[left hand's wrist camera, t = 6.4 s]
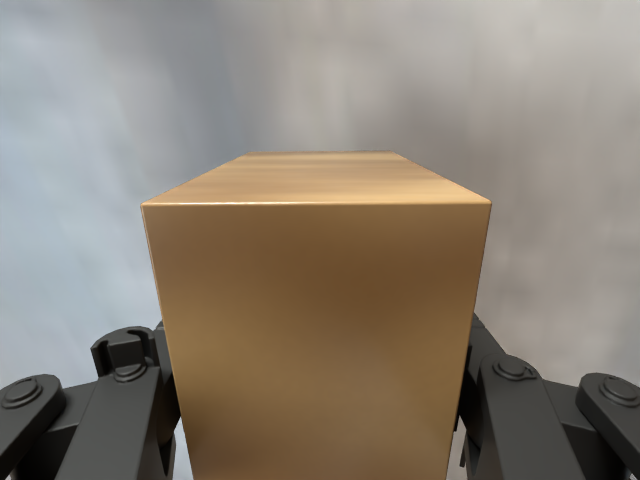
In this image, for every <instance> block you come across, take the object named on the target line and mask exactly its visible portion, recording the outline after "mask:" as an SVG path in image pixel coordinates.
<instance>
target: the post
mask: <svg viewBox="0 0 640 480" xmlns="http://www.w3.org/2000/svg"><path fill="white" fill-rule="evenodd" d="M491 206H492V203H491V201H490V200H488V199H486V198H484V197H482V196H480V195H478V194H476V193H474V192H472V191H470V190H468V189H466V188H464V187H462V186H460V185H458V184H456V183H454V182H452V181H450V180H448V179H446V178H444V177H442V176H440V175H438V174H436V173H434V172H432V171H430V170H428V169H426V168H424V167H422V166H420V165H418V164H416V163H414V162H412V161H410V160H408V159H406V158H404V157H402V156H400V155H398V154H396V153H394V152H392V151H286V152H249V153H246V154H244V155H242V156H240V157H238V158H236V159H234V160H232V161H230V162H228V163H225V164H223V165H221V166H219V167H217V168H215V169H213V170H211V171H209V172H206V173H204V174H202V175H200V176H198V177H196V178H194V179H192V180H190V181H188V182H185V183H183V184H181V185H179V186H177V187H175V188H173V189H171V190H169V191H166V192H164V193H162V194H160V195H158V196H156V197H154V198H152V199H150V200H148V201H145V202H143V203H141V212H142V217H143V222H144V227H145V232H146V237H147V243H148V248H149V253H150V258H151V263H152V268H153V273H154V279H155V284H156V289H157V294H158V299H159V304H160V309H161V314H162V320H163V325H164V330H165V335H166V340H167V345H168V350H169V356H170V361H171V366H172V371H173V376H174V381H175V386H176V391H177V397H178V402H179V407H180V412H181V417H182V422H183V427H184V433H185V438H186V443H187V448H188V453H189V458H190V463H191V468H192V474H193V479H194V480H446V475H447V469H448V463H449V457H450V451H451V445H452V439H453V433H454V427H455V421H456V415H457V409H458V403H459V397H460V391H461V385H462V379H463V373H464V367H465V361H466V355H467V349H468V343H469V337H470V331H471V326H472V320H473V314H474V308H475V302H476V296H477V290H478V284H479V278H480V272H481V266H482V260H483V254H484V248H485V242H486V236H487V230H488V224H489V218H490V212H491Z"/></svg>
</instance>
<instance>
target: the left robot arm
mask: <svg viewBox="0 0 640 480" xmlns="http://www.w3.org/2000/svg"><path fill="white" fill-rule="evenodd" d="M90 349H91V352H92V356H93V359H94V363H95V366H96V370H97V373H98V377H99V378H98V380H97V381H95V382H91V383H87V384H82V385H78V386H73V387H69V388H64V389H62V386H61V383H60V380H59V379H58V378H57V377H56V376H54V375H48V374H42V375H35V376H30V377H27V378H24V379H21V380H18V381H16V382H14V383H12V384H10V385H8V386H6V387H4V388H3V389H1V390H0V480H5V479H6V478H7V477H8V475H9V474H10V476H11V480H172V478H173V469H174V460H175V451H176V441H175V435H174V430H175V428H176V425H177V423H178V421H179V419H180V417H181V412H180V407H179V402H178V397H177V391H176V386H175V381H174V376H173V371H172V366H171V361H170V356H169V350H168V345H167V340H166V335H165V330H164V325H163V320H162V321H160V323H159V324H158V325H157V327H156V330H154V331H152V330H150V329H149V328H146V327H141V326H135V327H126V328H122V329H118V330H116V331H113V332H111V333H109V334H106V335H105V336H103V337H102V338H100V339H99V340H97V341H96V342H95V343H94V345H93V346H92V347H91V348H90ZM459 415H460V417H461V419H462V421H463V423H464V425H465V427H466V435H465V440H464V445H463V449H462V454H461V460H460V467H464V466H465V461H466V468H467V477H468V480H631V479H630V478H629V477H630V475H631V473H632V474H633V475H634V476H635V477H636V478H637V480H640V388H639V387H637V386H636V385H634V384H632V383H630V382H628V381H626V380H624V379H621V378H619V377H616V376H612V375H609V374H602V373H590V374H586V375H585V376H583V377H582V378H581V381H580V384H579V387H574V386H569V385H565V384H560V383H555V382H551V381H547V380H544V379H542V377H541V376H540V374H539V373H538V372H537V370H536V369H535V368H533V367H532V366H531V365H530V364H528V363H527V362H525V361H523V360H521V359H519V358H517V357H514V356H511V355H507V354H506V353H505V352H504V351H503V349H502V348H501V347H500V345H499V344H498V343H497V342H496V340H495V339H494V338H493V336H492V335H491V334H490V332H489V331H488V330H487V329H486V328H485V326H484V325H483V323H482V322H481V321H480V320H479V318H478V317H477V316H476V314H475V313H474V314H473V320H472V326H471V331H470V337H469V343H468V349H467V355H466V361H465V367H464V373H463V379H462V385H461V391H460V397H459V403H458V409H457V415H456V421H455V427H454V431H457V426H458V420H459ZM181 419H182V417H181ZM182 424H183V422H182ZM183 429H184V427H183Z"/></svg>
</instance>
